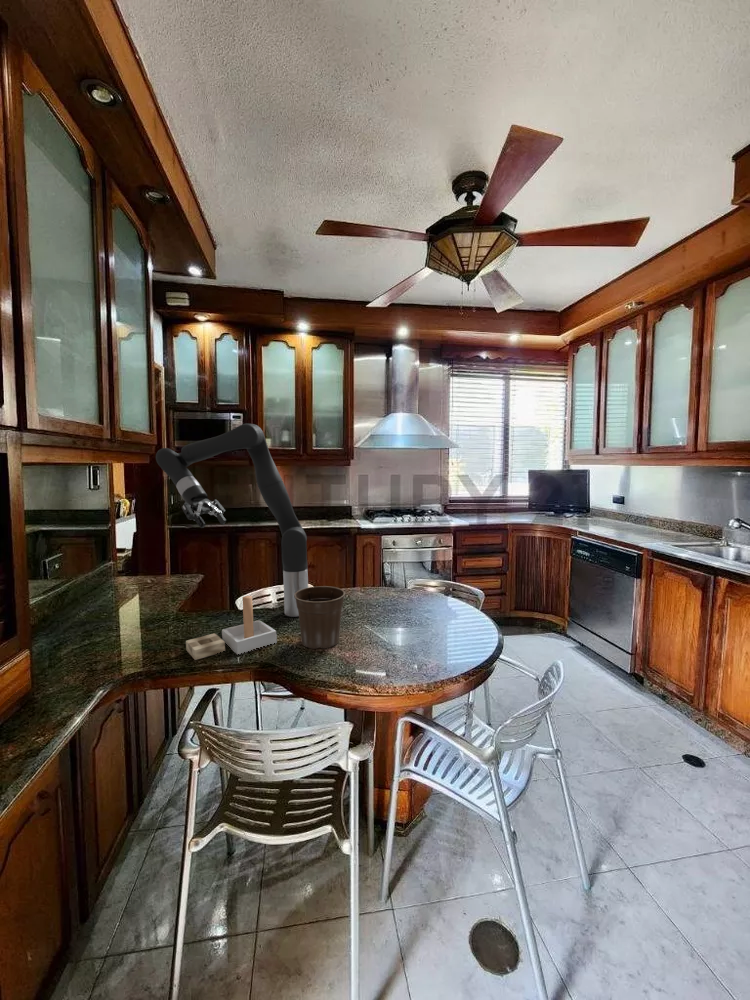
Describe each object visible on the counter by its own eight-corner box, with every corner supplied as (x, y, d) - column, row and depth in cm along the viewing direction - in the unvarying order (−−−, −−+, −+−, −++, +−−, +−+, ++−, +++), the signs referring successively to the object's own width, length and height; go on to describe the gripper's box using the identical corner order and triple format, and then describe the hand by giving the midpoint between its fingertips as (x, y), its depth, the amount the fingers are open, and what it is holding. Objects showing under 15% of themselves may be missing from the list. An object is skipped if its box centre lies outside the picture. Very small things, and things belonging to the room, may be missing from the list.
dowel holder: (215, 642, 141) (214, 633, 141) (225, 651, 134) (224, 641, 134) (186, 650, 135) (185, 640, 135) (195, 660, 128) (194, 650, 128)
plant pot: (355, 637, 143) (354, 590, 141) (326, 657, 129) (324, 604, 128) (316, 628, 151) (315, 583, 150) (285, 645, 137) (283, 596, 136)
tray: (259, 631, 150) (259, 619, 149) (276, 643, 139) (276, 631, 139) (222, 641, 141) (221, 629, 141) (237, 654, 131) (237, 642, 131)
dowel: (251, 636, 142) (249, 595, 141) (255, 639, 140) (253, 597, 139) (242, 638, 141) (241, 597, 139) (246, 641, 138) (244, 599, 137)
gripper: (178, 485, 149) (201, 520, 144) (212, 483, 161) (235, 515, 156) (169, 500, 152) (192, 534, 147) (204, 497, 164) (225, 528, 159)
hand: (214, 524), depth 152 cm, fingers open, 8 cm apart
